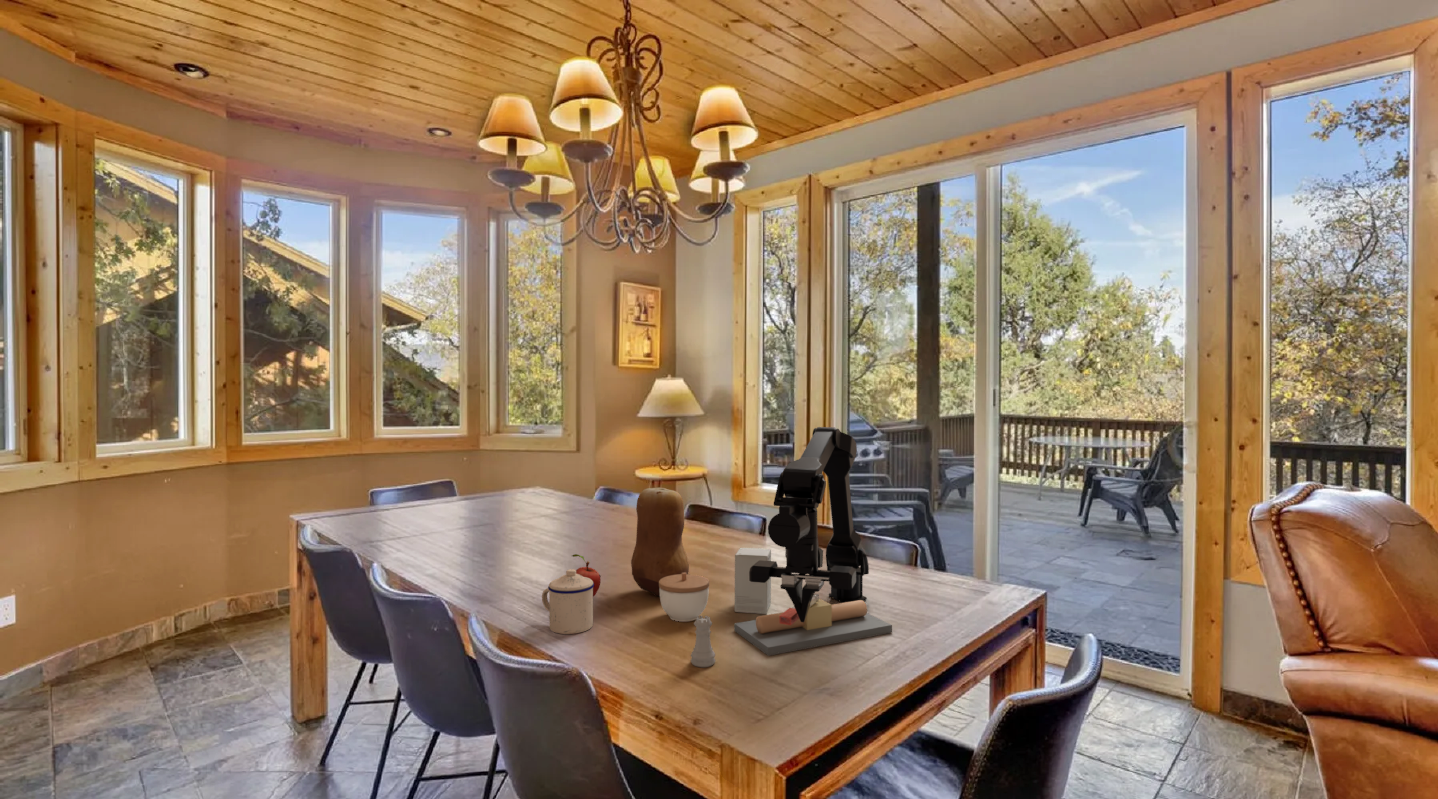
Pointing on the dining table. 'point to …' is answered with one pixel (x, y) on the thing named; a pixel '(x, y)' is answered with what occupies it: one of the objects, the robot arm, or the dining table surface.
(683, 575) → the lidded jar
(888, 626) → the valve body
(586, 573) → the apple
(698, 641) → the rook chess piece
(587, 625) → the teacup with lid
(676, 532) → the butternut squash
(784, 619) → the valve lever
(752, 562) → the supplement box
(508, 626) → the dining table surface
